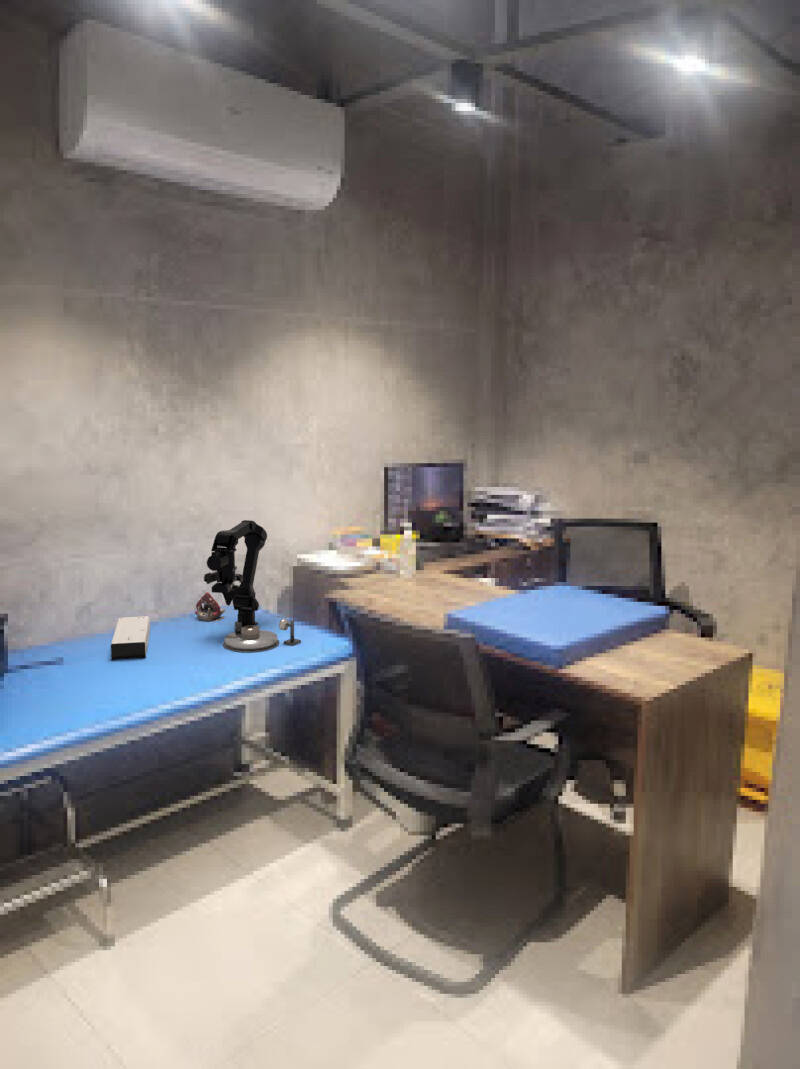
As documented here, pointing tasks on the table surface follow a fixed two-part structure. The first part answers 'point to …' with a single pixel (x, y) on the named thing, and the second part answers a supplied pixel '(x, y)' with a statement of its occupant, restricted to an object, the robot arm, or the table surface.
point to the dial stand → (284, 626)
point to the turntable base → (251, 650)
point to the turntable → (238, 643)
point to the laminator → (130, 638)
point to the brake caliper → (208, 608)
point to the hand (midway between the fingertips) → (228, 605)
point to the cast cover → (250, 632)
